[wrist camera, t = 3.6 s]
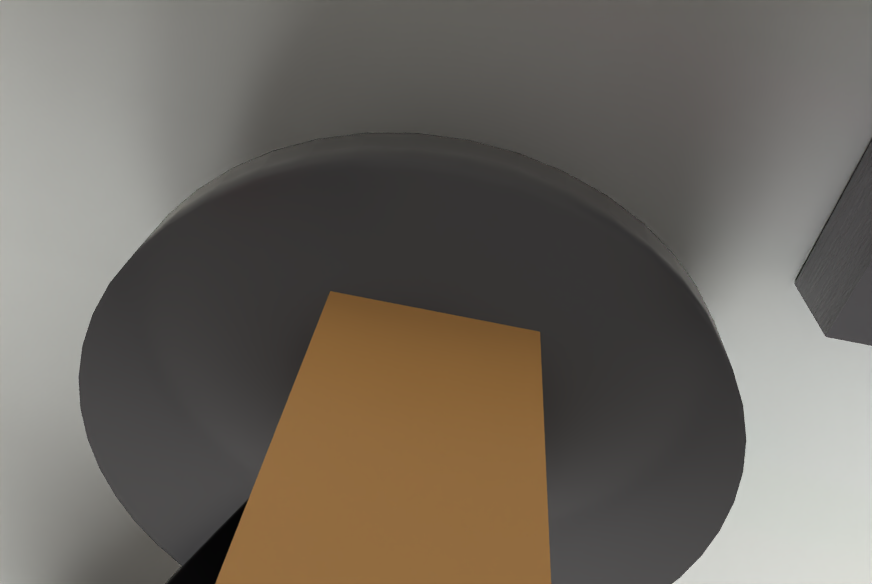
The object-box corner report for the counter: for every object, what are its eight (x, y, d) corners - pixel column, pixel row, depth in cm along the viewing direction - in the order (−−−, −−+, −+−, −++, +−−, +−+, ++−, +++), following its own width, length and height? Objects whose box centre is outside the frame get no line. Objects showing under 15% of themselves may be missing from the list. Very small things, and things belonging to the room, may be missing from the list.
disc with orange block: (177, 467, 15) (-41, 883, 9) (154, 21, 10) (-365, 316, 4) (603, 547, 15) (657, 1009, 9) (794, 148, 10) (1180, 611, 4)
